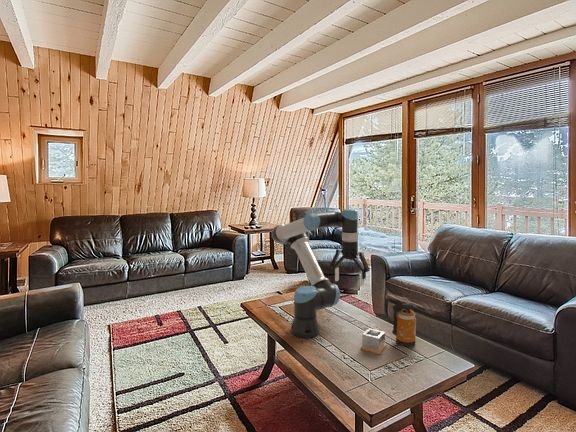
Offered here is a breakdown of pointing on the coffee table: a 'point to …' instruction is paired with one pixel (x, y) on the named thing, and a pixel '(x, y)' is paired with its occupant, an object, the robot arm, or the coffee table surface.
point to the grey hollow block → (373, 339)
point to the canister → (404, 324)
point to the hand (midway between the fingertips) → (349, 283)
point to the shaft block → (372, 349)
